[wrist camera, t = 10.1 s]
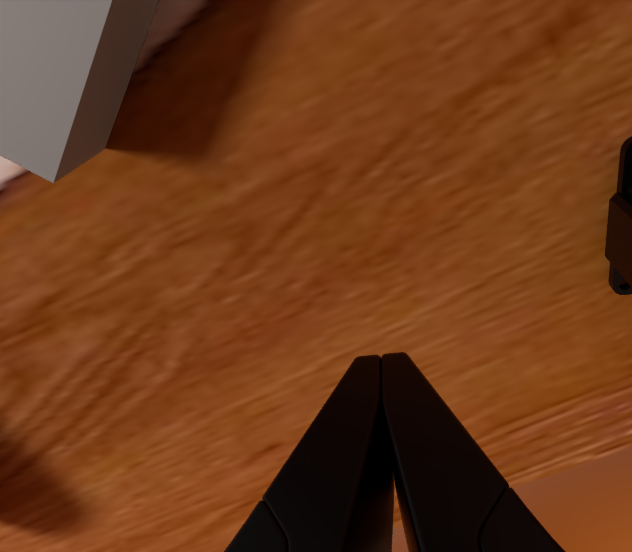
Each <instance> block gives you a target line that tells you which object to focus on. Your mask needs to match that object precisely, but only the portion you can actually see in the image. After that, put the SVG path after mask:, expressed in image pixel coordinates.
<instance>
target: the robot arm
mask: <svg viewBox="0 0 632 552" xmlns="http://www.w3.org/2000/svg"><path fill="white" fill-rule="evenodd" d="M605 256H606V258H607V259H608V260H609V261H610V271H609V285H610V286H611V288H612V289H613V290H614V291H615V293H617V294H619V295H629V294H632V137H630V138H628V139H627V140H626V141H625V142H624V143H623V145H622V147H621V150H620V161H619V172H618V183H617V193H615V194H614V195H613V196H612V198H611V199H610V201H609V212H608V224H607V236H606V248H605ZM624 279H625V280H626V283H625V284H622V285H619V284H620V282H621V281H622V280H624ZM394 481H395V487H396V493H397V498H398V503H399V508H400V513H401V518H402V523H403V527H404V532H405V537H406V542H407V546H408V551H409V552H565V551H564V550H563V549H562V548H561V546H559V544H558V543H557V542H556V541H555V540H554V539H553V538H552V537H551V535H550V534H549V533H548V532H547V531H546V530H545V528H544V527H543V526H542V525H541V524H540V522H539V521H538V520H537V519H536V517H534V515H533V514H532V513H531V512H530V510H529V509H528V508H527V507H526V505H525V504H524V503H523V501H522V500H521V499H520V498H519V496H518V495H517V494H516V493H515V491H514V490H513V489H512V488H510V487H509V484H508V483H507V481H506V480H505V479H504V478H503V476H502V475H501V474H500V472H499V471H498V470H497V469H496V467H495V466H494V465H493V463H492V462H491V461H490V460H489V458H488V457H487V456H486V454H485V453H484V452H483V451H482V449H481V448H480V447H479V445H478V444H477V443H476V442H475V440H474V439H473V438H472V437H471V435H470V434H469V433H468V431H467V430H466V429H465V428H464V426H463V425H462V424H461V422H460V421H459V420H458V419H457V417H456V416H455V415H454V413H453V412H452V411H451V410H450V408H449V407H448V406H447V404H446V403H445V402H444V401H443V399H442V398H441V397H440V396H439V394H438V393H437V392H436V390H435V389H434V388H433V387H432V385H431V384H430V383H429V381H428V380H427V379H426V378H425V376H424V375H423V374H422V372H421V371H420V370H419V369H418V367H417V366H416V365H415V363H414V362H413V361H412V360H411V358H410V357H409V356H408V355H407V354H406V353H404V352H399V353H389V354H384V355H382V357H380V356H379V355H368V356H359V357H357V358H355V359H354V361H353V362H352V364H351V365H350V367H349V368H348V370H347V371H346V373H345V374H344V376H343V377H342V379H341V380H340V382H339V383H338V385H337V386H336V388H335V389H334V391H333V392H332V394H331V395H330V397H329V398H328V400H327V401H326V403H325V404H324V406H323V407H322V409H321V410H320V412H319V413H318V415H317V416H316V418H315V419H314V421H313V422H312V424H311V425H310V427H309V428H308V430H307V431H306V433H305V434H304V436H303V437H302V439H301V440H300V442H299V443H298V445H297V446H296V448H295V449H294V451H293V452H292V454H291V455H290V457H289V458H288V460H287V461H286V462H285V464H284V465H283V467H282V468H281V470H280V471H279V473H278V474H277V476H276V477H275V479H274V480H273V482H272V483H271V485H270V486H269V488H268V489H267V491H266V492H265V494H264V495H263V497H262V499H263V501H259V502H258V504H257V505H256V507H255V508H254V510H253V511H252V513H251V514H250V516H249V517H248V519H247V520H246V522H245V523H244V524H243V526H242V527H241V529H240V530H239V532H238V533H237V534H236V536H235V537H234V539H233V540H232V541H231V543H230V544H229V546H228V547H227V548H226V550H225V551H224V552H392V534H393V513H394Z"/></svg>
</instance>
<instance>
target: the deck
mask: <svg viewBox="0 0 632 552" xmlns="http://www.w3.org/2000/svg"><path fill="white" fill-rule="evenodd" d="M158 1H159V0H0V156H2V157H4V158H6V159H8V160H10V161H12V162H14V163H16V164H18V165H20V166H21V167H23V168H25V169H27V170H29V171H31V172H33V173H35V174H37V175H39V176H41V177H43V178H45V179H46V180H48V181H50V182H52V183H54V182H56V181H57V180H59V179H60V178H62V177H63V176H65V175H66V174H68V173H69V172H71V171H72V170H74V169H75V168H77V167H78V166H80V165H81V164H83V163H84V162H86V161H87V160H89V159H90V158H92V157H93V156H95V155H96V154H98V153H100V152H101V151H103V150H104V149H105V147H106V145H107V142H108V139H109V136H110V134H111V131H112V128H113V125H114V123H115V120H116V117H117V114H118V111H119V109H120V106H121V103H122V100H123V98H124V95H125V92H126V89H127V87H128V84H129V81H130V78H131V76H132V73H133V70H134V67H135V65H136V62H137V59H138V56H139V54H140V51H141V48H142V45H143V43H144V40H145V37H146V34H147V32H148V29H149V26H150V23H151V20H152V18H153V15H154V12H155V9H156V7H157V4H158Z"/></svg>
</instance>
